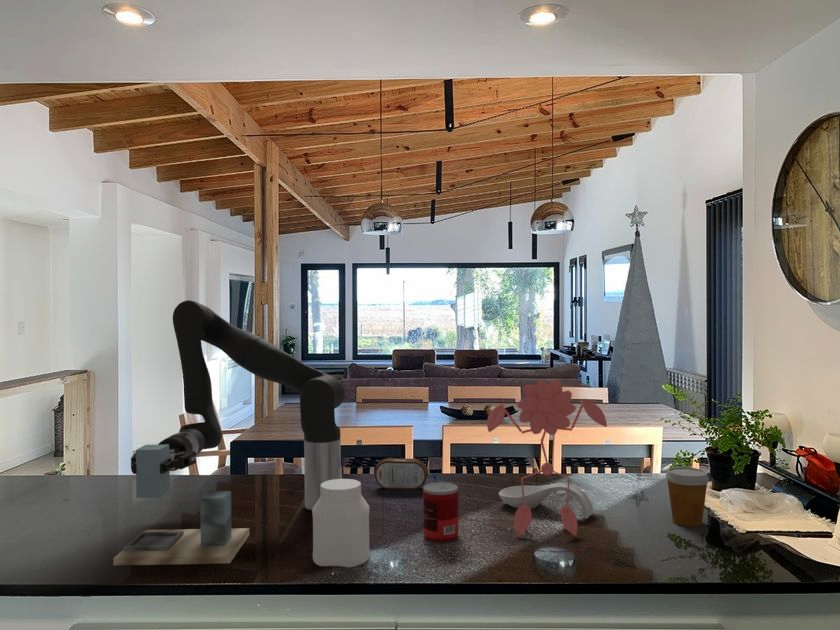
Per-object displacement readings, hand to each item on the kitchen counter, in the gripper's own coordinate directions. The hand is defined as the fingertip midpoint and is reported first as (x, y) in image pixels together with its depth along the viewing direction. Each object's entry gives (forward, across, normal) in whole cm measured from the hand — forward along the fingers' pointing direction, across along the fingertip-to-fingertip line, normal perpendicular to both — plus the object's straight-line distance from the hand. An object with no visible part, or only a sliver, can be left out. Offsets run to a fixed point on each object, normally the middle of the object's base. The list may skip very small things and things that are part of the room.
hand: (148, 469), depth 131 cm
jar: (+3, +40, +18) cm, 44 cm away
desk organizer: (-2, +7, +18) cm, 19 cm away
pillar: (-3, 0, +6) cm, 7 cm away
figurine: (-5, +84, +18) cm, 86 cm away
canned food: (-8, +61, +18) cm, 64 cm away
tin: (-46, +52, +18) cm, 72 cm away
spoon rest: (-26, +88, +18) cm, 94 cm away
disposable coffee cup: (-14, +119, +18) cm, 121 cm away
